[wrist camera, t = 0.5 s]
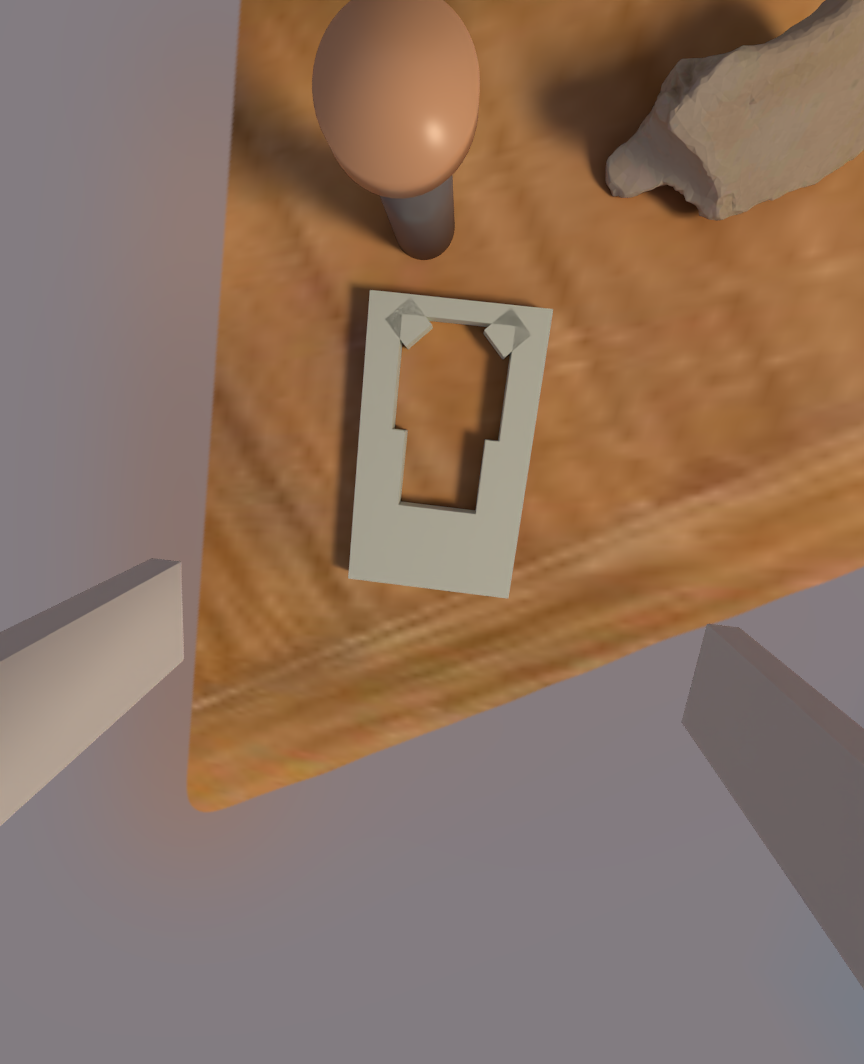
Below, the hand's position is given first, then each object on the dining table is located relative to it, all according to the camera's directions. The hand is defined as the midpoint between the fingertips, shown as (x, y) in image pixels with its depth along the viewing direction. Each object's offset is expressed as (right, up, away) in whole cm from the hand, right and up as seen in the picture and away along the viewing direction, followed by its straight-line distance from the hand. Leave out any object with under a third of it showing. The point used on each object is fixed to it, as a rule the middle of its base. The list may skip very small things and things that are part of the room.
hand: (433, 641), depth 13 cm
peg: (-1, +23, +21) cm, 31 cm away
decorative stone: (+19, +26, +19) cm, 38 cm away
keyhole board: (+1, +9, +24) cm, 25 cm away
